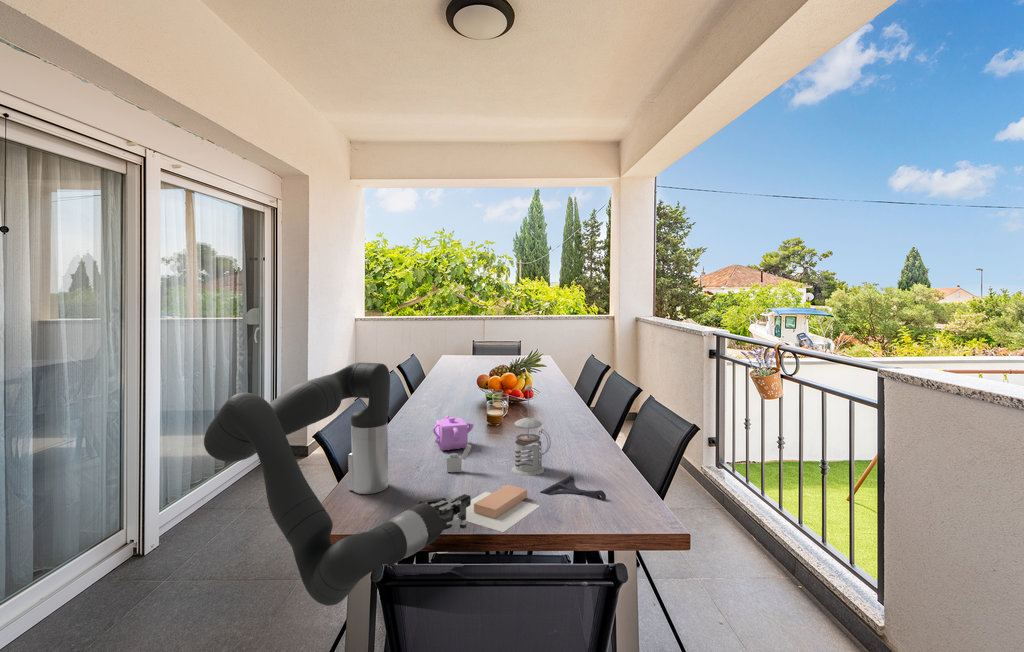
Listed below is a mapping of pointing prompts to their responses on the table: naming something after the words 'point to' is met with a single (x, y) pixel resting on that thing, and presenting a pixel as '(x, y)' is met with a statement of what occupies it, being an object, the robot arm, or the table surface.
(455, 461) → the lighter
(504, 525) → the mat
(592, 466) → the table surface
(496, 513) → the tile
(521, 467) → the french press
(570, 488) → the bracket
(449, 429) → the teapot
